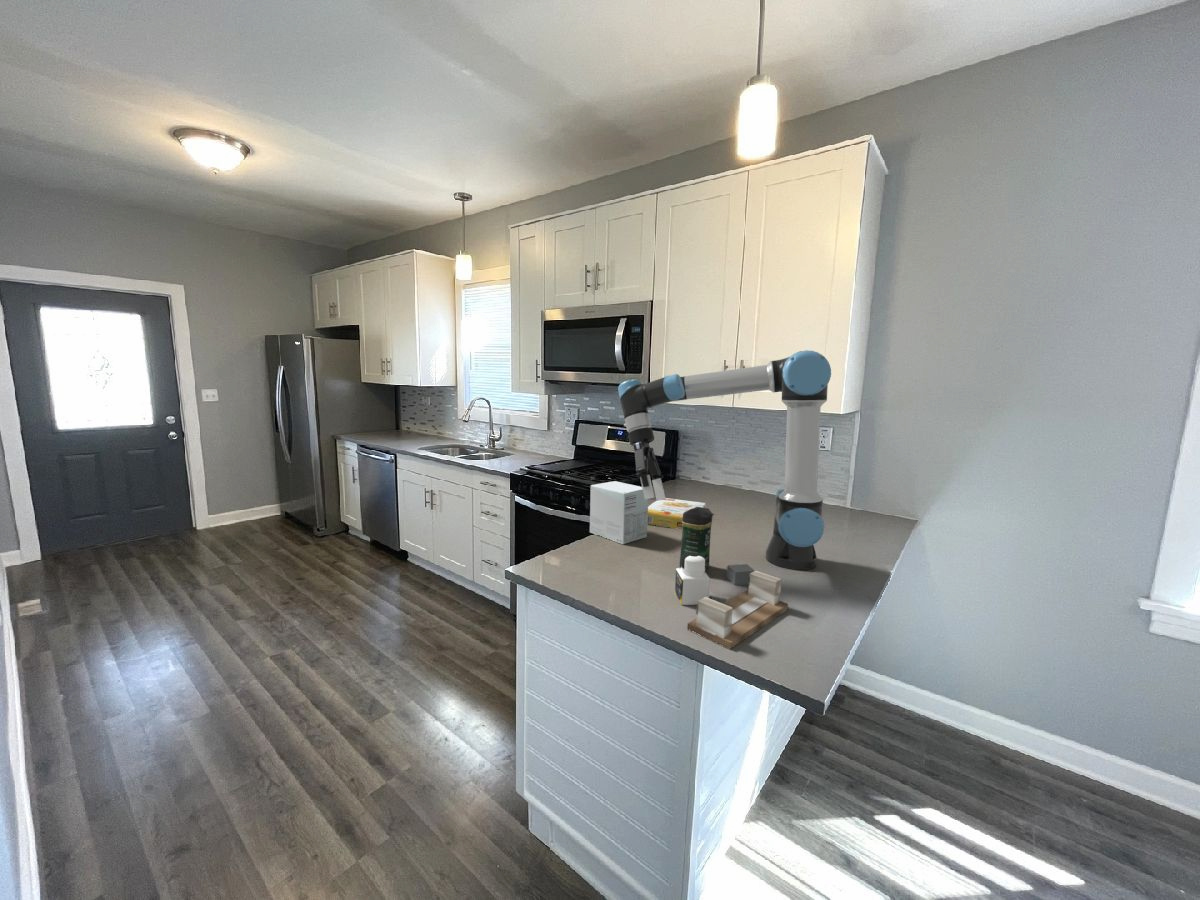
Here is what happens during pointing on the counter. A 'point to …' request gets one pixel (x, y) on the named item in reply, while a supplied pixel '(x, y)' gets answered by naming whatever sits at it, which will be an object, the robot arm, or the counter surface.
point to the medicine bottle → (692, 579)
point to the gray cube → (739, 574)
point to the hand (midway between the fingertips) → (655, 499)
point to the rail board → (740, 611)
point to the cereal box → (670, 512)
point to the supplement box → (618, 512)
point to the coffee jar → (696, 532)
